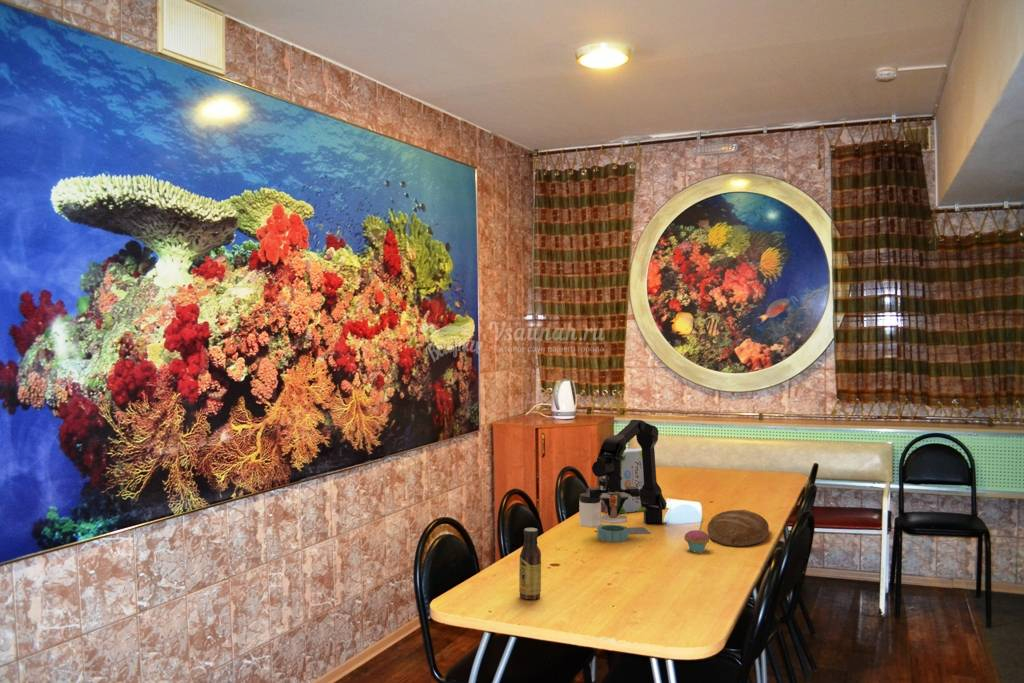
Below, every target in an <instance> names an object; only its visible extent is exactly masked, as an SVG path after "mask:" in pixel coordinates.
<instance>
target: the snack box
mask: <svg viewBox="0 0 1024 683" xmlns="http://www.w3.org/2000/svg"><path fill="white" fill-rule="evenodd" d="M605 454H606V453H605ZM622 456H623V457H624V459H623V460H621V477H622V480H621V488H622V489H626V487H634V486H635V487H637V488H638V489H639V490H640V489H641V488H642V486H643V485H644V476H643V461H642V448H641V447H639V448H638V447H637V448H636V447H635V448H626V450H625V451H624V452H623V454H622ZM602 477H603V479H605V476H602ZM600 490H605V489H603V487H602V486H600ZM627 497H628V499H626V500H625V502H624V504H623V506H622V508H621V510H620V513H621V514H626V513H627V512H629V513H636V512H635V511H637V512H644V511H643V510H645V507H641V501H640V497H632V496H631V495H630V494H628V495H627ZM608 498H609V499H610V506H612V505H614V506H617V495H608ZM600 502H601V512H602V511H603V512H602V513H604V512H605V513H604V514H607V510H606V507H605V504H604V502H603V500H600Z"/></svg>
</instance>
